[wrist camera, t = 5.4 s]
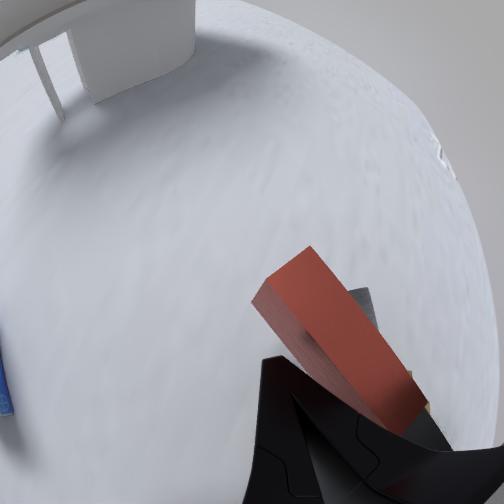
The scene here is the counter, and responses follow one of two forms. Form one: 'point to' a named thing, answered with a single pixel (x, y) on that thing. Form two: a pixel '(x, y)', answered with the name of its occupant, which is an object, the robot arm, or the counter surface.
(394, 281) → the counter surface
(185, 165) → the counter surface
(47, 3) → the architectural model
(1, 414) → the medicine box
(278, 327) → the lever
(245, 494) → the robot arm
